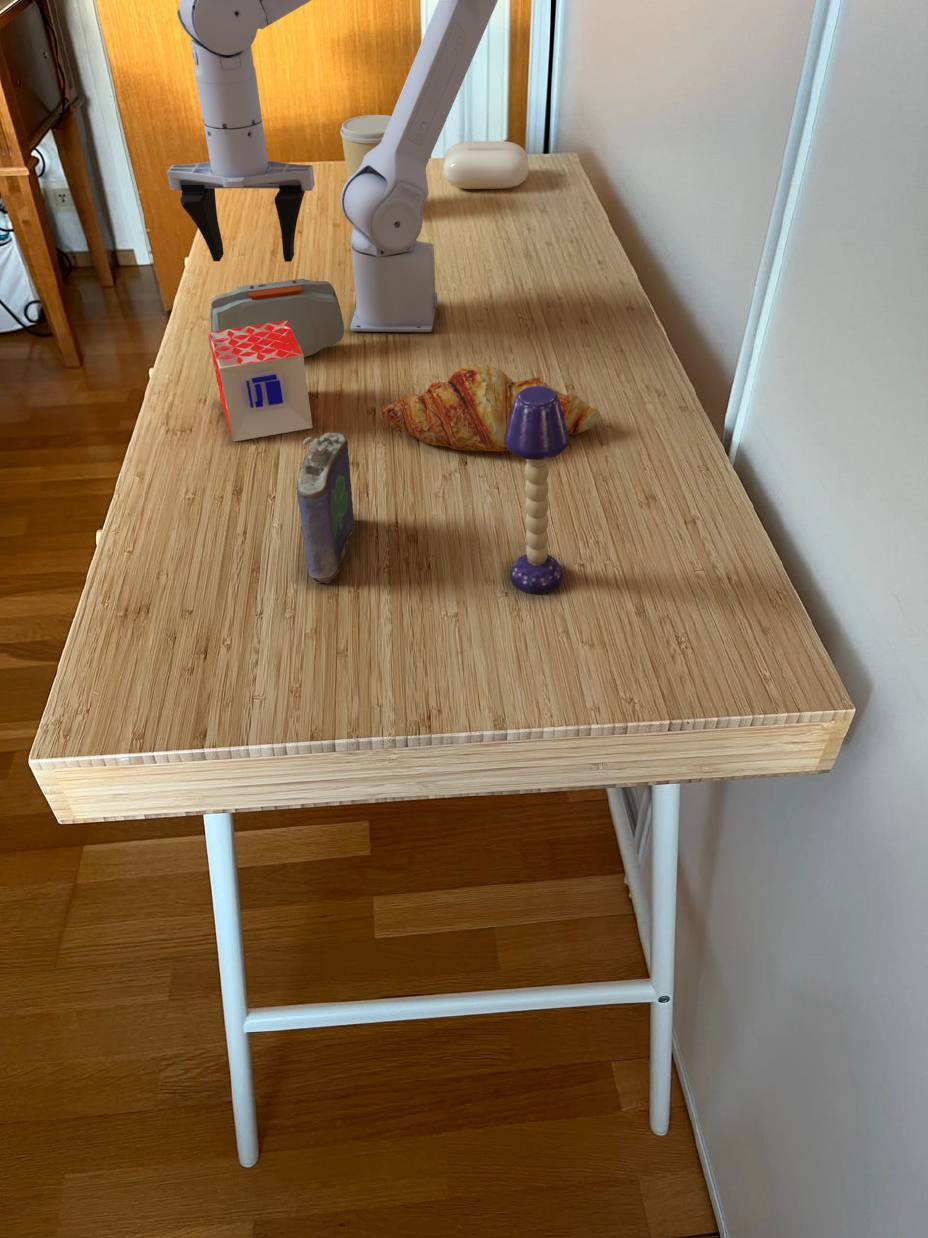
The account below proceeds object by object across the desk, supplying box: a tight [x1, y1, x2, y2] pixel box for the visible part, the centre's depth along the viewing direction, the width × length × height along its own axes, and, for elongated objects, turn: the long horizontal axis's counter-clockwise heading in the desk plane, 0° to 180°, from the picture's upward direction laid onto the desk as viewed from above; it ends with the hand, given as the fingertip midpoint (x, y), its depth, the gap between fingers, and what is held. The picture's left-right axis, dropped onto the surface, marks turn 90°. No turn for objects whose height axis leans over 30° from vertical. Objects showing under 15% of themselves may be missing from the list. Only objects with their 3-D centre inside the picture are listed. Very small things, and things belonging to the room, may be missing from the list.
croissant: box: [381, 365, 601, 452], centre depth 96 cm, size 21×10×8 cm, turn 92°
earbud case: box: [442, 140, 530, 190], centre depth 151 cm, size 10×13×5 cm
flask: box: [295, 432, 356, 584], centre depth 80 cm, size 9×3×11 cm, turn 172°
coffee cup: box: [339, 114, 392, 180], centre depth 140 cm, size 9×9×12 cm
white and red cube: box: [207, 321, 314, 443], centre depth 98 cm, size 8×8×8 cm
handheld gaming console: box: [209, 278, 345, 358], centre depth 108 cm, size 14×3×8 cm, turn 106°
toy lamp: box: [505, 386, 570, 595], centre depth 75 cm, size 5×5×17 cm
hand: (253, 257), depth 106 cm, fingers open, 7 cm apart
